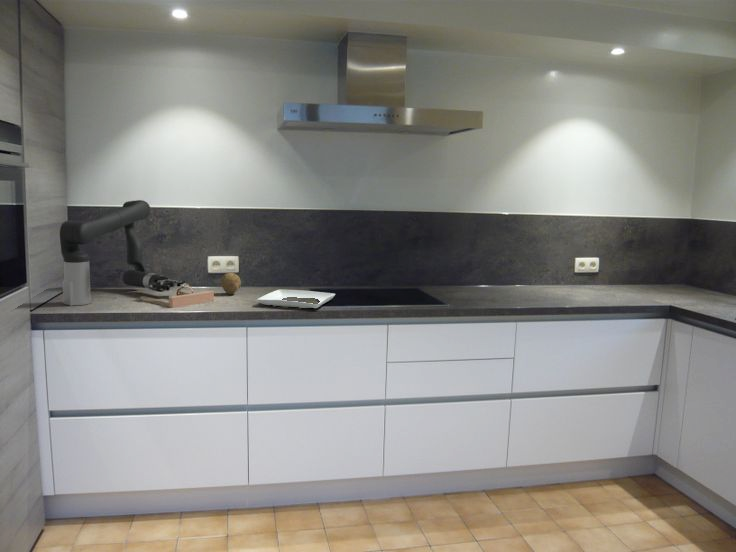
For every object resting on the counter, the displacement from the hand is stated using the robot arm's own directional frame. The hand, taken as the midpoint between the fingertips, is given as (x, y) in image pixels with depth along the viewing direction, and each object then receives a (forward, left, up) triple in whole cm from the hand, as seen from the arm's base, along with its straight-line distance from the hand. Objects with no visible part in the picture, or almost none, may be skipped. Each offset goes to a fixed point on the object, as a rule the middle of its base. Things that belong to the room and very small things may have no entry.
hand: (177, 286), depth 252 cm
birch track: (0, +2, -6) cm, 6 cm away
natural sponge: (+26, -3, -6) cm, 27 cm away
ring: (0, -5, -6) cm, 8 cm away
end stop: (0, -9, -6) cm, 11 cm away
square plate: (+33, -38, -7) cm, 51 cm away
